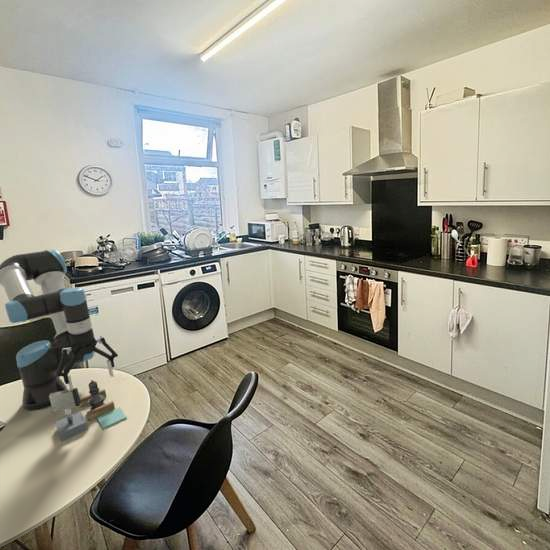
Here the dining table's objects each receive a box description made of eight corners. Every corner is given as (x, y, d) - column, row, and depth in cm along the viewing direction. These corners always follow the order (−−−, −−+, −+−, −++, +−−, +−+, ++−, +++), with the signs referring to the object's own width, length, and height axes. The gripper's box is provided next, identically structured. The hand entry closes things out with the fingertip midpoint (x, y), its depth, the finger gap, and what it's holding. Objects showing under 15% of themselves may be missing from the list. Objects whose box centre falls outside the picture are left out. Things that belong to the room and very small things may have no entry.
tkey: (56, 425, 116) (48, 396, 113) (58, 421, 118) (50, 393, 115) (82, 419, 118) (75, 390, 115) (84, 416, 120) (77, 387, 117)
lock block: (57, 429, 119) (55, 421, 119) (82, 418, 124) (80, 411, 123) (61, 441, 113) (59, 433, 113) (87, 429, 118) (86, 421, 118)
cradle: (81, 405, 132) (79, 398, 131) (105, 395, 138) (104, 388, 137) (89, 420, 123) (87, 413, 122) (115, 409, 128) (113, 402, 128)
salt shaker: (99, 413, 127) (93, 384, 124) (85, 411, 128) (79, 383, 125) (109, 403, 132) (103, 376, 129) (96, 402, 134) (90, 375, 130)
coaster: (97, 418, 124) (96, 417, 124) (119, 408, 129) (119, 407, 129) (103, 429, 118) (102, 427, 118) (126, 418, 123) (126, 416, 123)
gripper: (41, 345, 111) (55, 401, 117) (119, 322, 127) (129, 373, 132) (38, 338, 117) (52, 392, 122) (113, 317, 132) (123, 366, 138)
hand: (92, 382), depth 127 cm, fingers open, 13 cm apart
